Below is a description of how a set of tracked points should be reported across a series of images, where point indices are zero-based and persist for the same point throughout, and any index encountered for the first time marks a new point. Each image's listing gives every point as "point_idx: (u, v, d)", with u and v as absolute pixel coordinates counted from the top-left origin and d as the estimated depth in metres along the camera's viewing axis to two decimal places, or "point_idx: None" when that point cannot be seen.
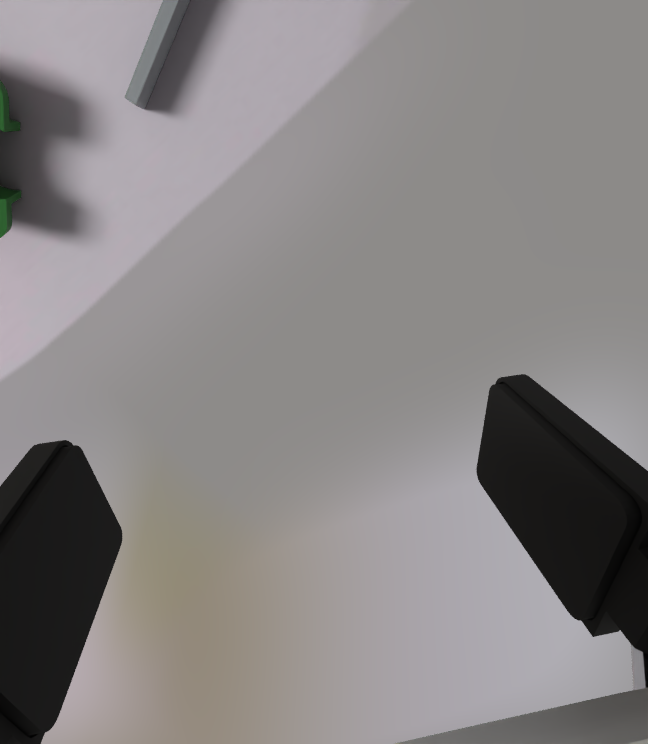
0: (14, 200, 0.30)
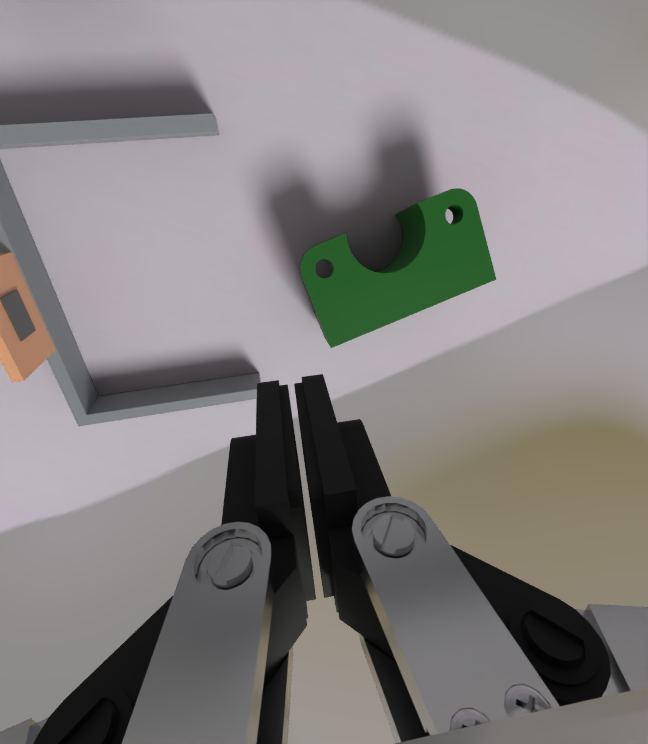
0: None
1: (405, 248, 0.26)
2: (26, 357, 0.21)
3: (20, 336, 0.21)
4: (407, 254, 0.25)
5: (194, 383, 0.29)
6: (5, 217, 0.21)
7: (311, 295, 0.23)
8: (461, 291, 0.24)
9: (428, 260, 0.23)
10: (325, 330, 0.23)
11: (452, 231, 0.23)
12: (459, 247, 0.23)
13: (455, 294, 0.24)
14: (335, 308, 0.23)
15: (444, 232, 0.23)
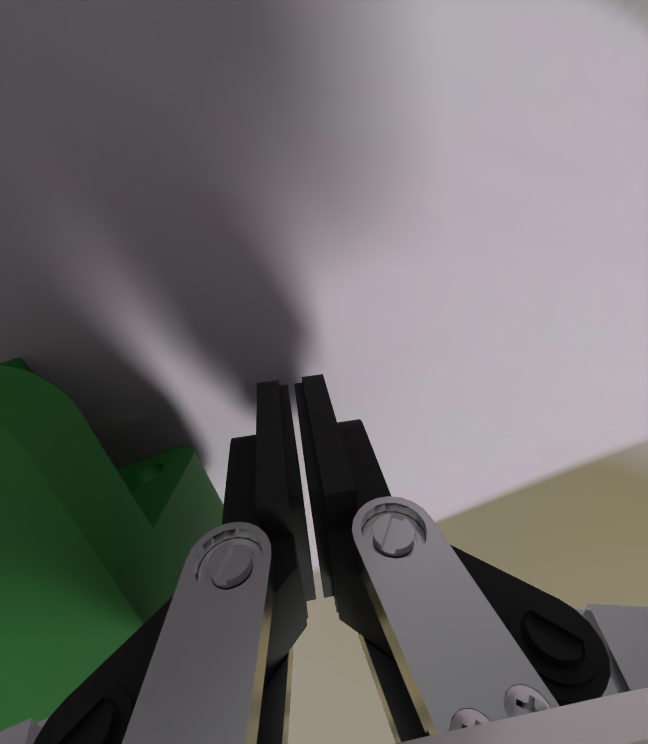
0: None
1: None
2: None
3: None
4: None
5: None
6: None
7: None
8: None
9: None
10: None
11: None
12: None
13: None
14: None
15: None
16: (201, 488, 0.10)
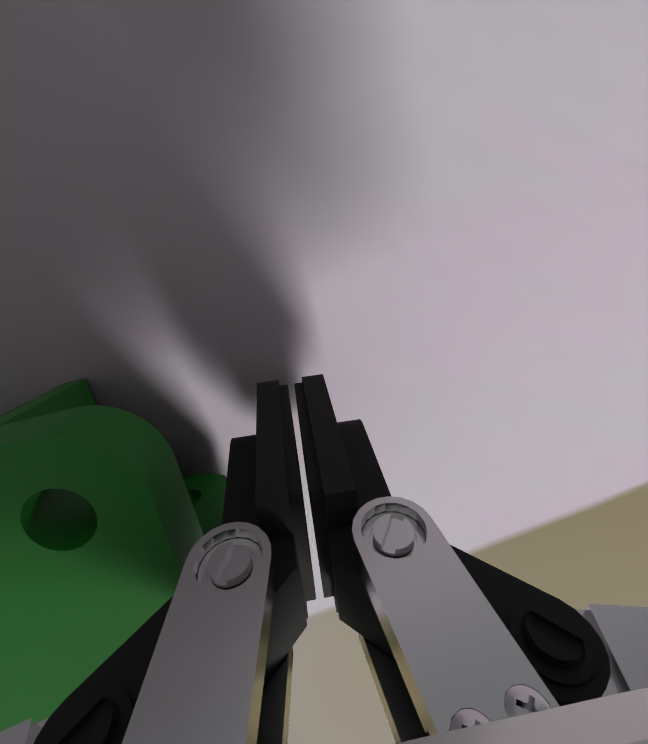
0: (25, 409, 0.08)
1: None
2: None
3: None
4: None
5: None
6: None
7: None
8: None
9: None
10: None
11: (57, 570, 0.06)
12: (90, 618, 0.06)
13: None
14: None
15: (24, 572, 0.06)
16: None
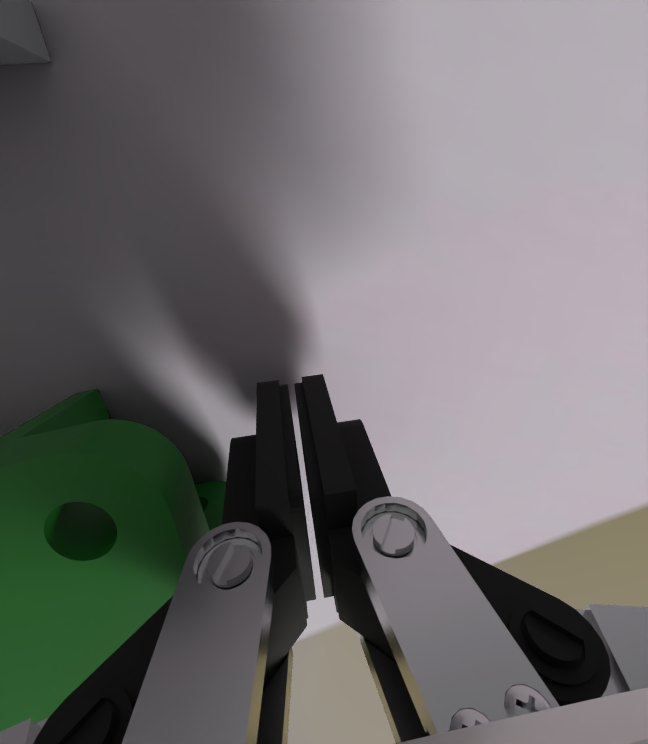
0: (44, 420, 0.08)
1: None
2: None
3: None
4: None
5: None
6: None
7: None
8: None
9: None
10: None
11: (77, 580, 0.06)
12: (107, 625, 0.07)
13: None
14: None
15: (45, 581, 0.06)
16: None
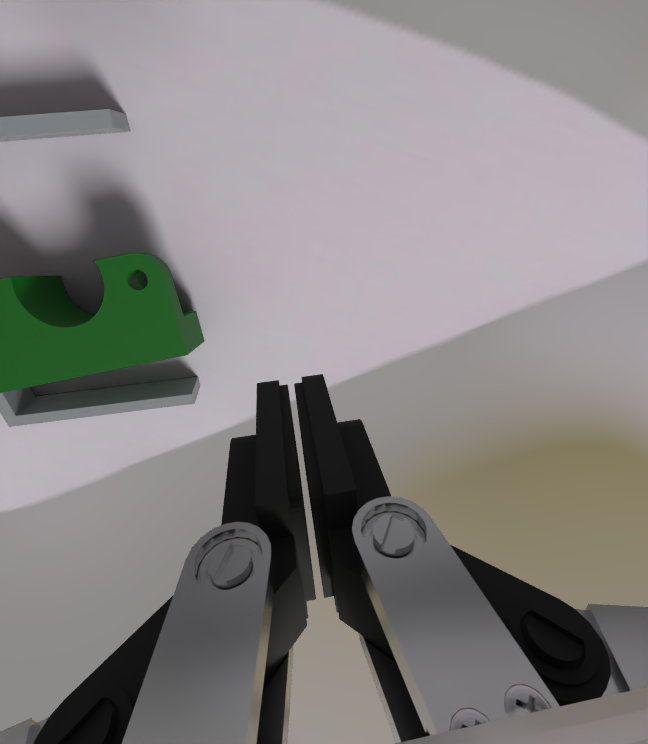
0: None
1: None
2: None
3: None
4: None
5: (130, 386, 0.29)
6: None
7: None
8: (147, 360, 0.22)
9: (108, 322, 0.21)
10: None
11: (135, 296, 0.21)
12: (143, 315, 0.21)
13: (140, 362, 0.22)
14: (1, 354, 0.21)
15: (126, 296, 0.21)
16: (197, 322, 0.25)
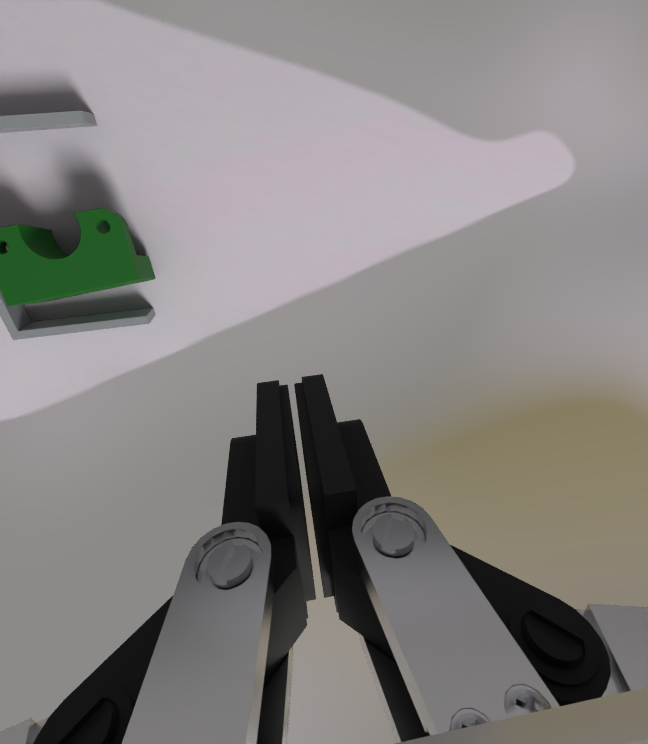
0: None
1: None
2: None
3: None
4: None
5: (103, 314, 0.39)
6: None
7: None
8: (111, 283, 0.33)
9: (83, 255, 0.32)
10: (2, 292, 0.32)
11: (102, 238, 0.32)
12: (108, 251, 0.32)
13: (106, 284, 0.33)
14: (11, 277, 0.32)
15: (95, 238, 0.32)
16: (149, 264, 0.36)
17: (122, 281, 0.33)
